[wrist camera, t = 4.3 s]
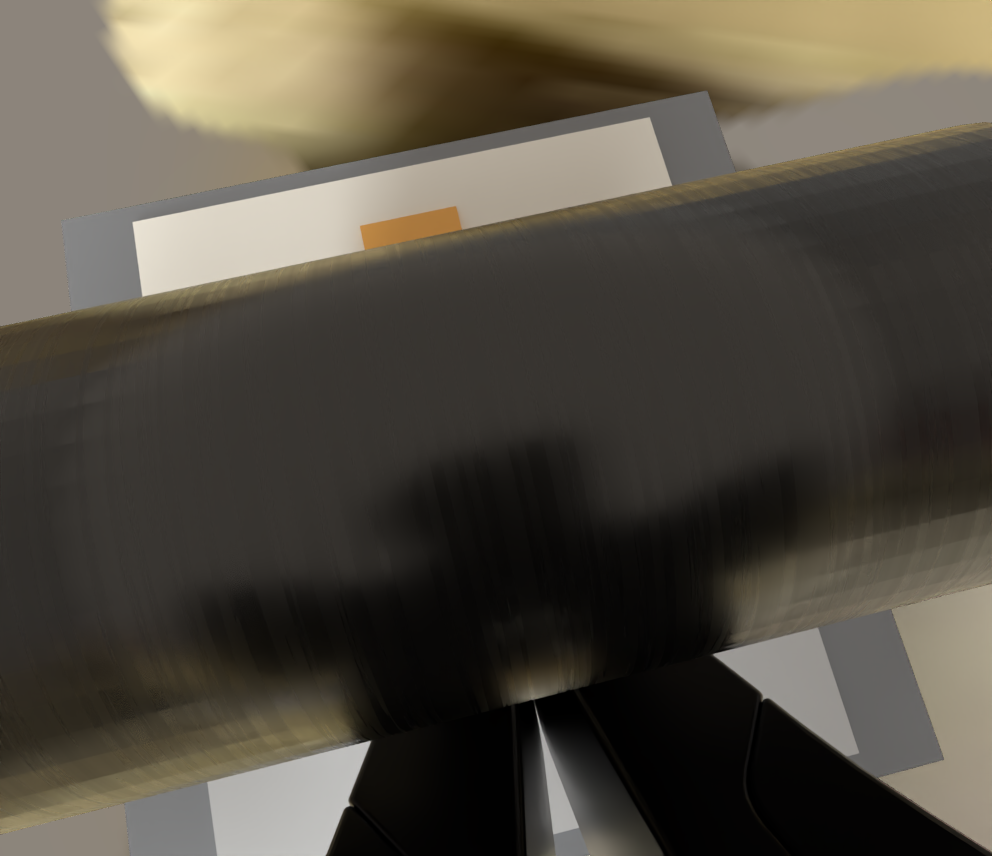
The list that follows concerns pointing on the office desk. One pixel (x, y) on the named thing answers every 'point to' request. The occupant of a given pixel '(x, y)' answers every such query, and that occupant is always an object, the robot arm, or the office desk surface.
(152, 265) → the switch base
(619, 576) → the toggle lever
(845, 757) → the robot arm
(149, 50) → the office desk surface
